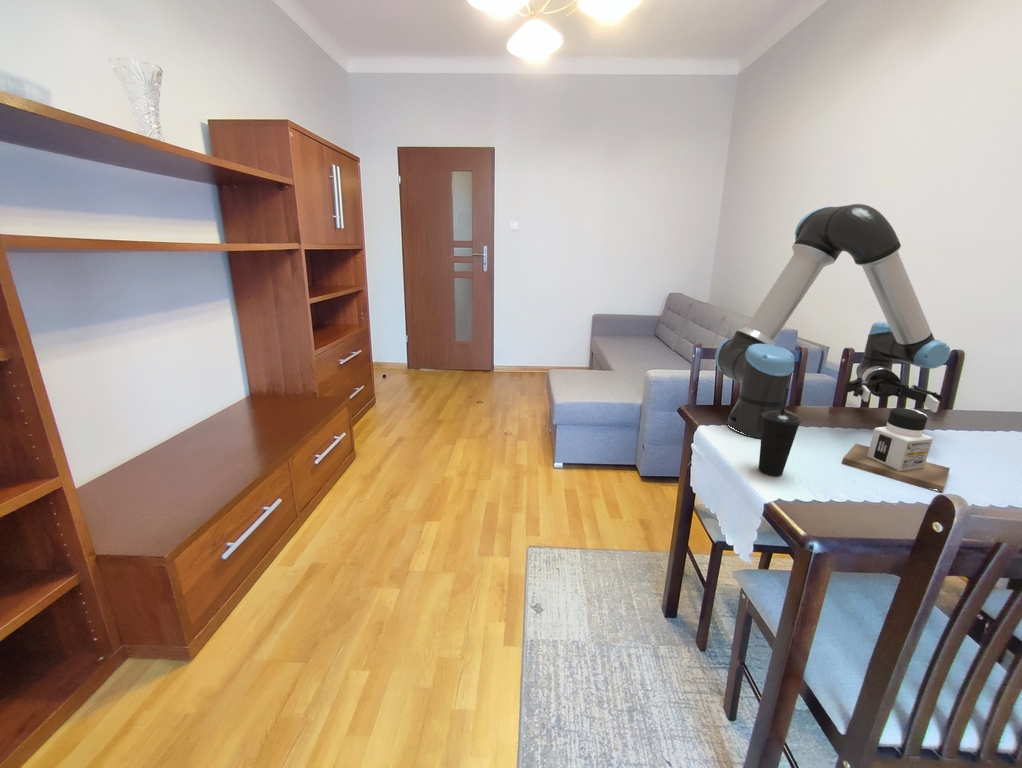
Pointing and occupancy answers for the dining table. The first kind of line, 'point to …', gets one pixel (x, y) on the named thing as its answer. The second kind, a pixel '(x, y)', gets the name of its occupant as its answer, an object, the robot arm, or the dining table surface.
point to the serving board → (923, 477)
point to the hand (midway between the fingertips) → (900, 401)
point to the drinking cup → (777, 438)
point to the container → (901, 440)
